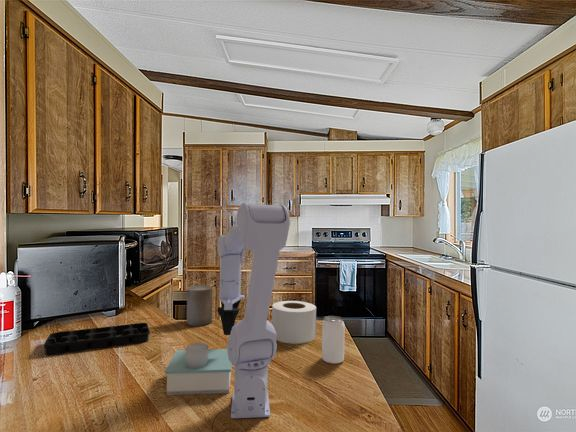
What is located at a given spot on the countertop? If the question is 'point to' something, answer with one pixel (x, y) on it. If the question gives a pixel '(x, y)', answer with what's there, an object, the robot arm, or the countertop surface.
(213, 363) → the lid
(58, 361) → the countertop surface
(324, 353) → the can
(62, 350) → the black muffin tray
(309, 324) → the toilet paper roll
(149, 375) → the countertop surface
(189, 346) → the grey rounded dome
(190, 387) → the box
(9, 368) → the countertop surface
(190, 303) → the pillar candle
